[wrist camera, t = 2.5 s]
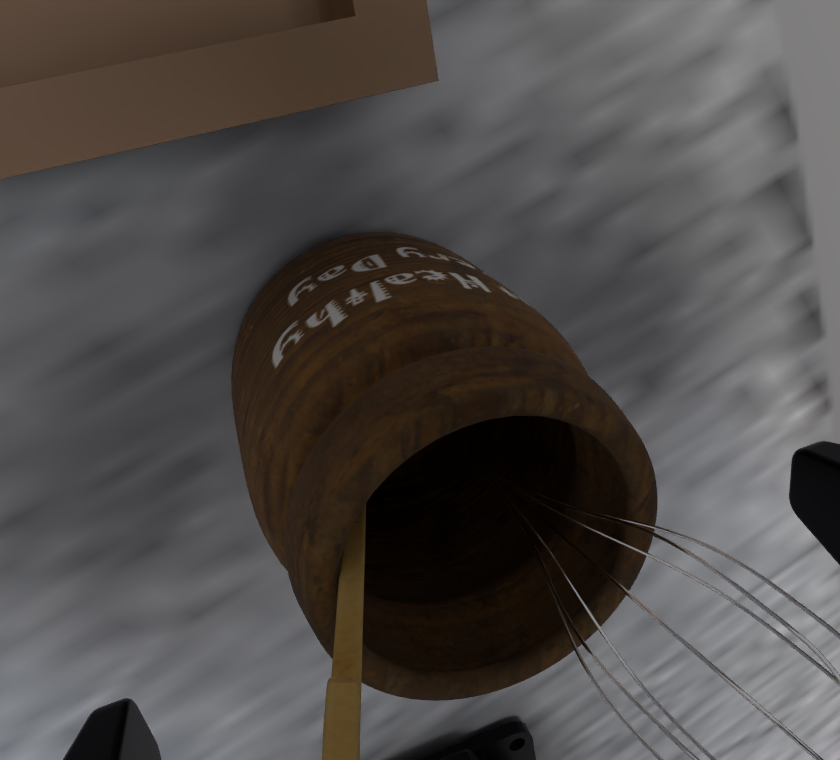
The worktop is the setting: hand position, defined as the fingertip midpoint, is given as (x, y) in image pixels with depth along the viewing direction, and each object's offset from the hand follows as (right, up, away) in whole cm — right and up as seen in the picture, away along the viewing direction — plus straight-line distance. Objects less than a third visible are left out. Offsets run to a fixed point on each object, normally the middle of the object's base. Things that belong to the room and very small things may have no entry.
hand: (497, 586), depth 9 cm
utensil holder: (-2, +3, +6) cm, 8 cm away
